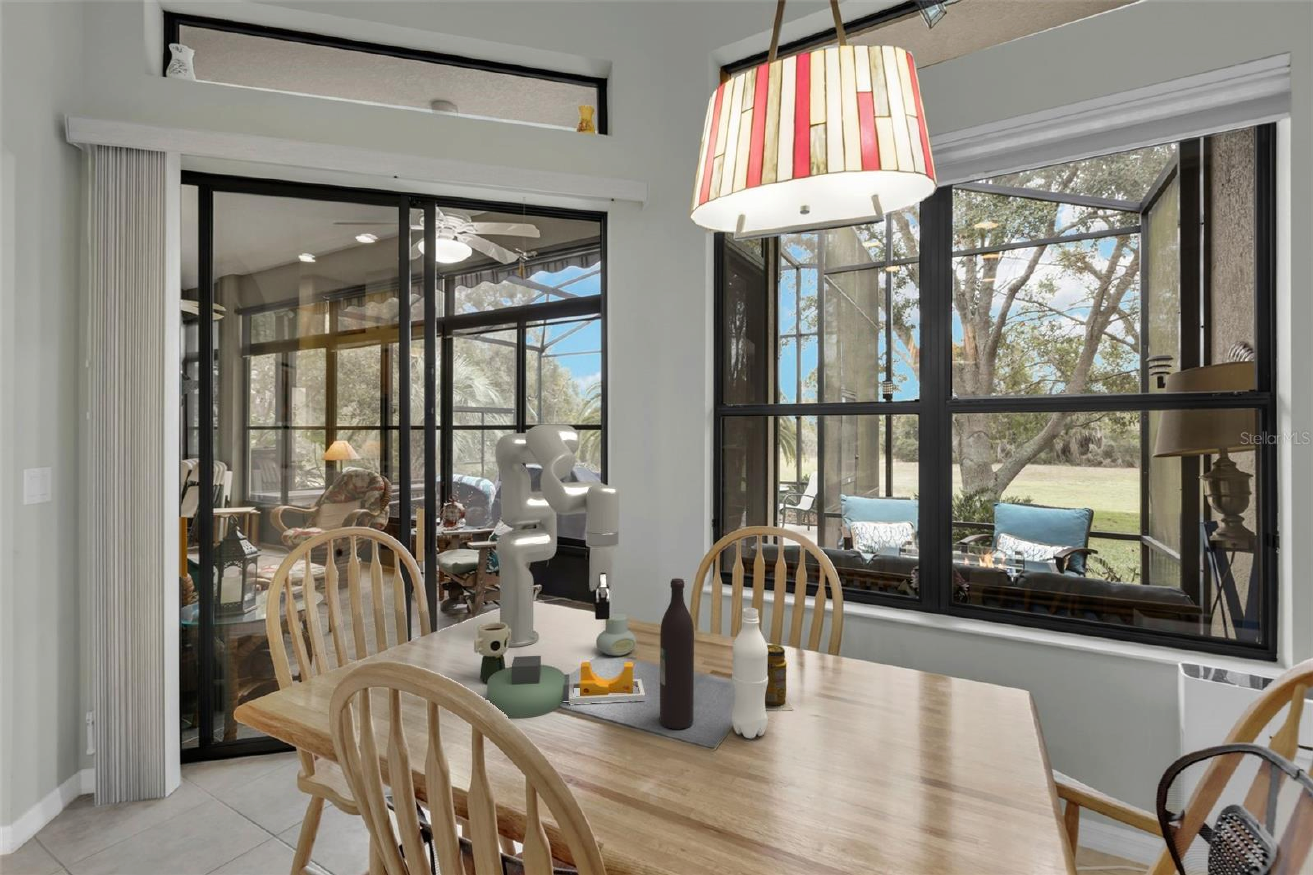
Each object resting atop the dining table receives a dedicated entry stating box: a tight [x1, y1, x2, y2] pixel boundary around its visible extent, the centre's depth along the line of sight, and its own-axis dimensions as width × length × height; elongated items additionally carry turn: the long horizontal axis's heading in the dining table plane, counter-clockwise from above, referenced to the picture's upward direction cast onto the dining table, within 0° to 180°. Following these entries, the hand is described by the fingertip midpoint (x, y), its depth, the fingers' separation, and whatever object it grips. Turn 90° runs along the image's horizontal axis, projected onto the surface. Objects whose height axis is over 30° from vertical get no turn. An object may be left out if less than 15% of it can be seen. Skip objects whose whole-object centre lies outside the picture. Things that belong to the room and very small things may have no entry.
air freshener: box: [595, 612, 637, 657], centre depth 171 cm, size 11×8×10 cm
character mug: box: [473, 621, 511, 683], centre depth 153 cm, size 11×7×13 cm, turn 143°
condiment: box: [765, 644, 794, 712], centre depth 141 cm, size 7×8×12 cm
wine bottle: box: [659, 577, 695, 730], centre depth 131 cm, size 7×7×30 cm
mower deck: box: [486, 655, 646, 719], centre depth 142 cm, size 17×35×9 cm, turn 97°
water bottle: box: [731, 607, 769, 739], centre depth 127 cm, size 7×7×25 cm
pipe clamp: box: [579, 661, 634, 696], centre depth 144 cm, size 12×4×6 cm, turn 90°
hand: (601, 612), depth 145 cm, fingers open, 9 cm apart
